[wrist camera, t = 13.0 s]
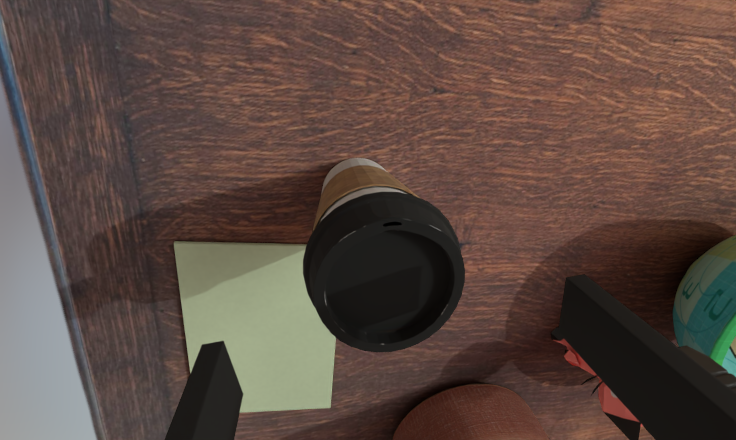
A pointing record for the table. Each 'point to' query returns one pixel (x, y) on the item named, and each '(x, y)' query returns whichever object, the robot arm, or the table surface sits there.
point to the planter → (471, 416)
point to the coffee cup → (380, 260)
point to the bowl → (709, 305)
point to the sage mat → (257, 321)
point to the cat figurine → (603, 394)
